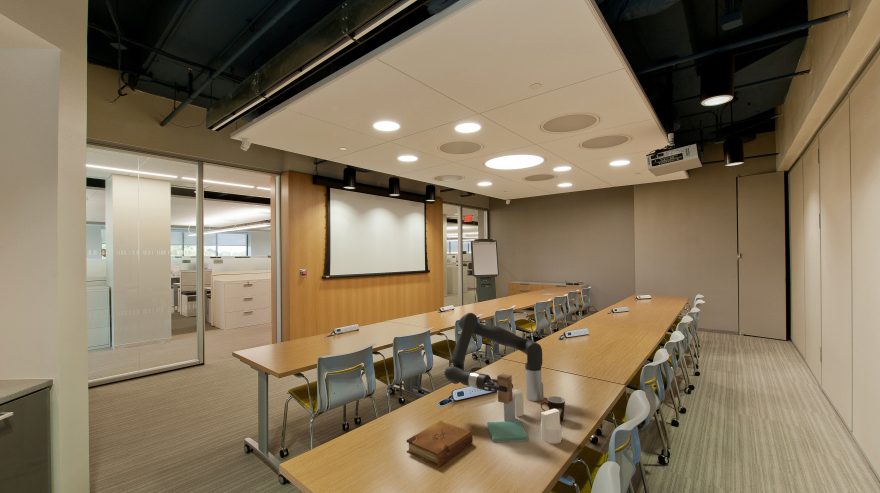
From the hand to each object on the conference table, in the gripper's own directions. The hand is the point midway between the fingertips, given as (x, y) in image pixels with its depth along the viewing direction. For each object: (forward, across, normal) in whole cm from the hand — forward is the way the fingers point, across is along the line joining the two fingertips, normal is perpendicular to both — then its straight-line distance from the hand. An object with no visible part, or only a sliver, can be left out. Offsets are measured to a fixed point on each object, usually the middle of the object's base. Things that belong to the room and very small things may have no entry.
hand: (509, 388), depth 165 cm
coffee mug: (+10, +27, +22) cm, 36 cm away
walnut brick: (-3, 0, +7) cm, 7 cm away
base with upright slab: (+17, +7, +22) cm, 28 cm away
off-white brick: (-7, +21, +21) cm, 31 cm away
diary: (-20, -29, +22) cm, 42 cm away
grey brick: (-7, +13, +21) cm, 26 cm away
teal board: (-2, 0, +21) cm, 22 cm away
